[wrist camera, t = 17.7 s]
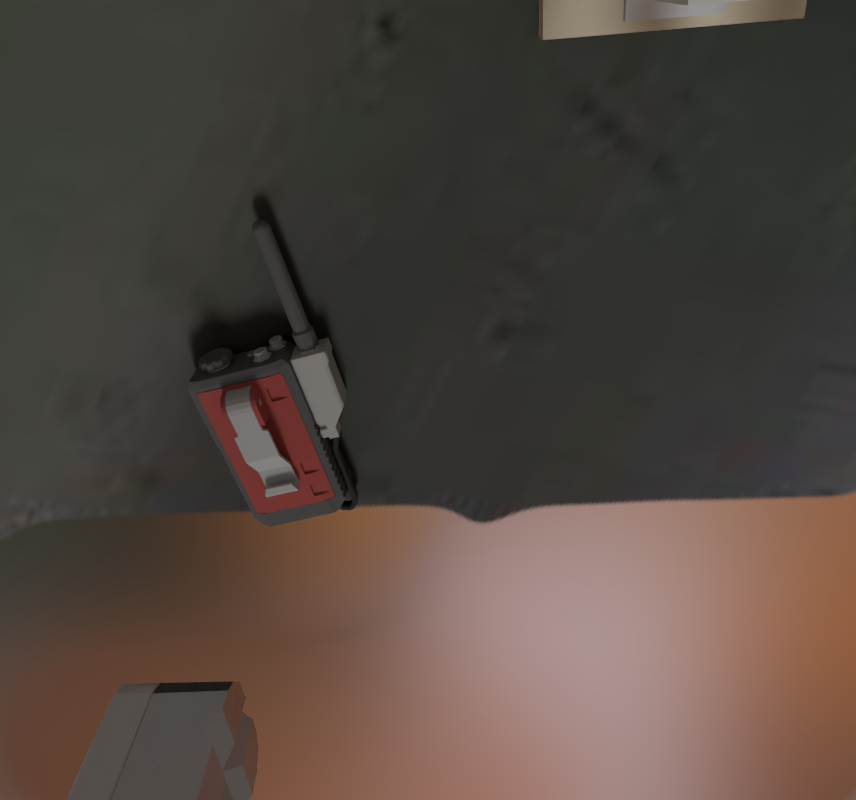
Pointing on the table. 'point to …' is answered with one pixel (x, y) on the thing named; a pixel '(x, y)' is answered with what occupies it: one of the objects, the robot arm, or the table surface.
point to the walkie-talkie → (278, 412)
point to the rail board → (653, 15)
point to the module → (696, 1)
